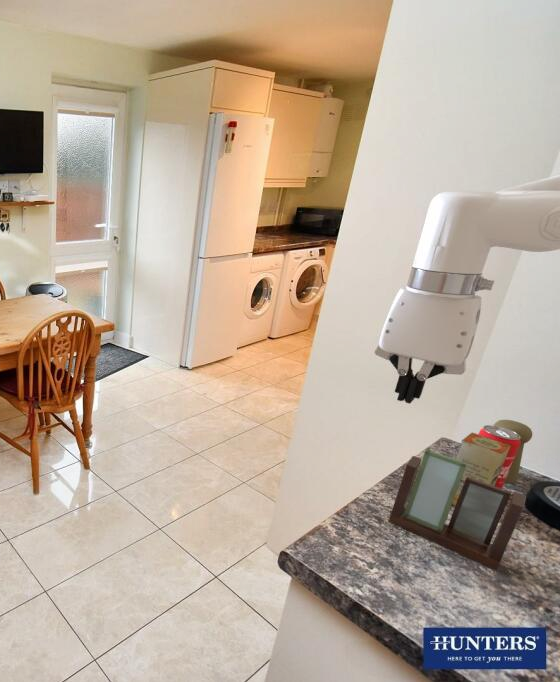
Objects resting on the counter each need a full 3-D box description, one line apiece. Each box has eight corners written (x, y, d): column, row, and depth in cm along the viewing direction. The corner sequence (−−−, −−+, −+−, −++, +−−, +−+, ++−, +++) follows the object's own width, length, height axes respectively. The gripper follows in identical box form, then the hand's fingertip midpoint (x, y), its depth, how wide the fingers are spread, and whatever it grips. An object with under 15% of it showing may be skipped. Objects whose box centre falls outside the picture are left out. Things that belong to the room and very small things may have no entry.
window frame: (388, 521, 73) (406, 464, 70) (394, 511, 76) (412, 455, 72) (496, 570, 64) (523, 507, 60) (499, 556, 66) (526, 495, 63)
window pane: (403, 516, 72) (425, 450, 68) (404, 514, 72) (426, 448, 68) (441, 532, 69) (466, 464, 65) (442, 530, 69) (467, 462, 65)
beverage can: (487, 483, 83) (509, 427, 80) (505, 500, 79) (530, 441, 75) (454, 478, 85) (474, 422, 81) (470, 495, 80) (493, 437, 76)
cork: (524, 478, 85) (545, 428, 82) (506, 485, 83) (527, 434, 79) (485, 461, 90) (503, 413, 87) (467, 467, 88) (486, 418, 85)
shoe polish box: (486, 505, 78) (510, 445, 74) (477, 515, 75) (501, 454, 71) (450, 489, 81) (472, 432, 78) (440, 499, 79) (462, 440, 75)
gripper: (518, 288, 60) (473, 410, 66) (386, 272, 71) (358, 378, 77) (512, 296, 55) (465, 426, 61) (371, 277, 66) (343, 390, 72)
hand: (405, 399), depth 69 cm, fingers closed
